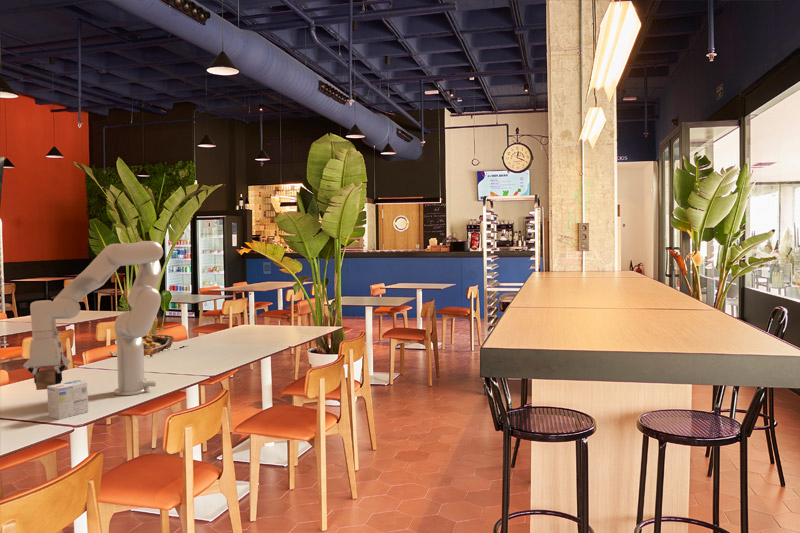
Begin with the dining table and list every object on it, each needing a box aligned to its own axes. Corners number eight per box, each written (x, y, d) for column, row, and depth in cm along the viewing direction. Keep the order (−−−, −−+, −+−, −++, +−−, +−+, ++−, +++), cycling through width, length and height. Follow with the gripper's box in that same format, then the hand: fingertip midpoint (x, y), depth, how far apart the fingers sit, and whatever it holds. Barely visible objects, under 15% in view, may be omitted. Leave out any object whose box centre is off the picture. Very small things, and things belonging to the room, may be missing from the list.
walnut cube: (60, 384, 223) (59, 368, 222) (54, 388, 217) (53, 371, 216) (43, 385, 222) (41, 369, 221) (36, 390, 216) (35, 373, 215)
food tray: (149, 346, 353) (148, 327, 353) (188, 346, 348) (188, 328, 347) (108, 357, 319) (107, 337, 319) (151, 358, 314) (151, 337, 313)
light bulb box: (78, 409, 214) (76, 379, 213) (89, 412, 210) (88, 381, 210) (47, 417, 204) (46, 385, 204) (58, 420, 201) (57, 387, 201)
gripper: (74, 331, 223) (77, 379, 224) (23, 335, 220) (27, 383, 221) (66, 334, 216) (70, 384, 217) (13, 338, 213) (18, 389, 214)
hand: (48, 383), depth 219 cm, fingers closed on walnut cube, 6 cm apart
